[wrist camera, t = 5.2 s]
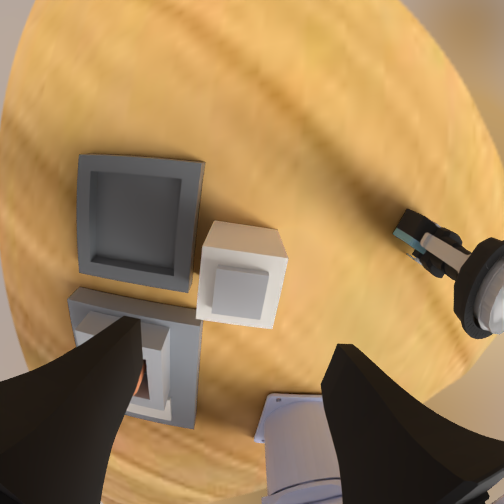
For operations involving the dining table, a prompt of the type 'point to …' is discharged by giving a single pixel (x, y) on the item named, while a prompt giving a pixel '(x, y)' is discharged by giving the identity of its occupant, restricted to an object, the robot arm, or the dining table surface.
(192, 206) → the tray
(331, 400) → the robot arm
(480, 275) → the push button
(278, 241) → the block
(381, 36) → the dining table surface
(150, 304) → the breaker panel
